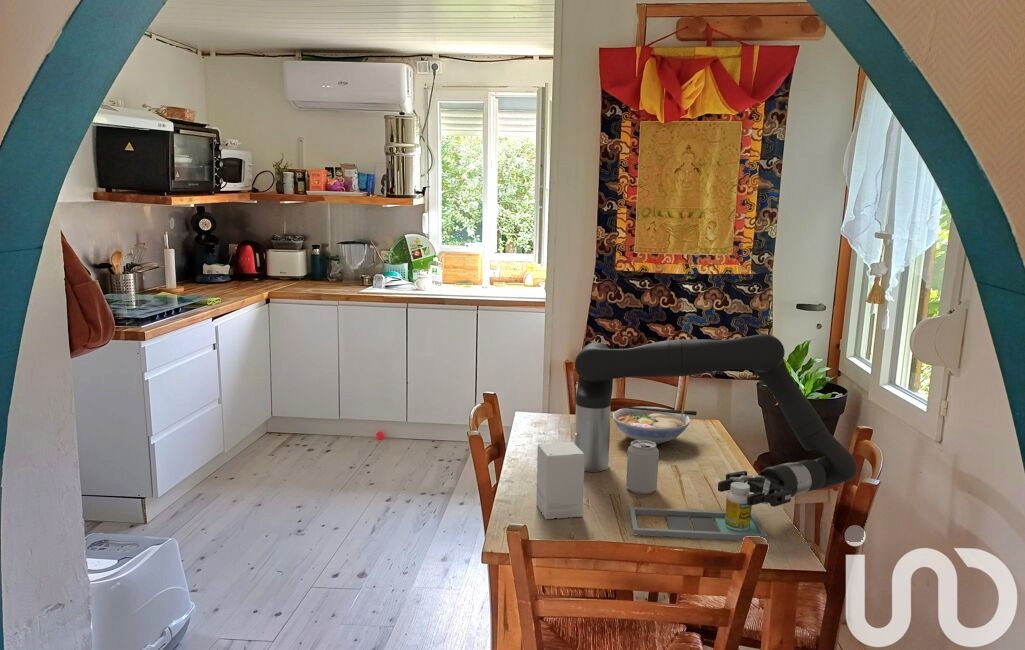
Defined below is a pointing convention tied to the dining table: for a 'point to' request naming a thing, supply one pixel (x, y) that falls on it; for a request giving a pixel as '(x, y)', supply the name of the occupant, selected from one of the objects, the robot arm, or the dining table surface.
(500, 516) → the dining table surface
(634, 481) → the can
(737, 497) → the supplement bottle
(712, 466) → the dining table surface
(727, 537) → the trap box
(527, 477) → the dining table surface
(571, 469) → the supplement box
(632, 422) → the ramen bowl
